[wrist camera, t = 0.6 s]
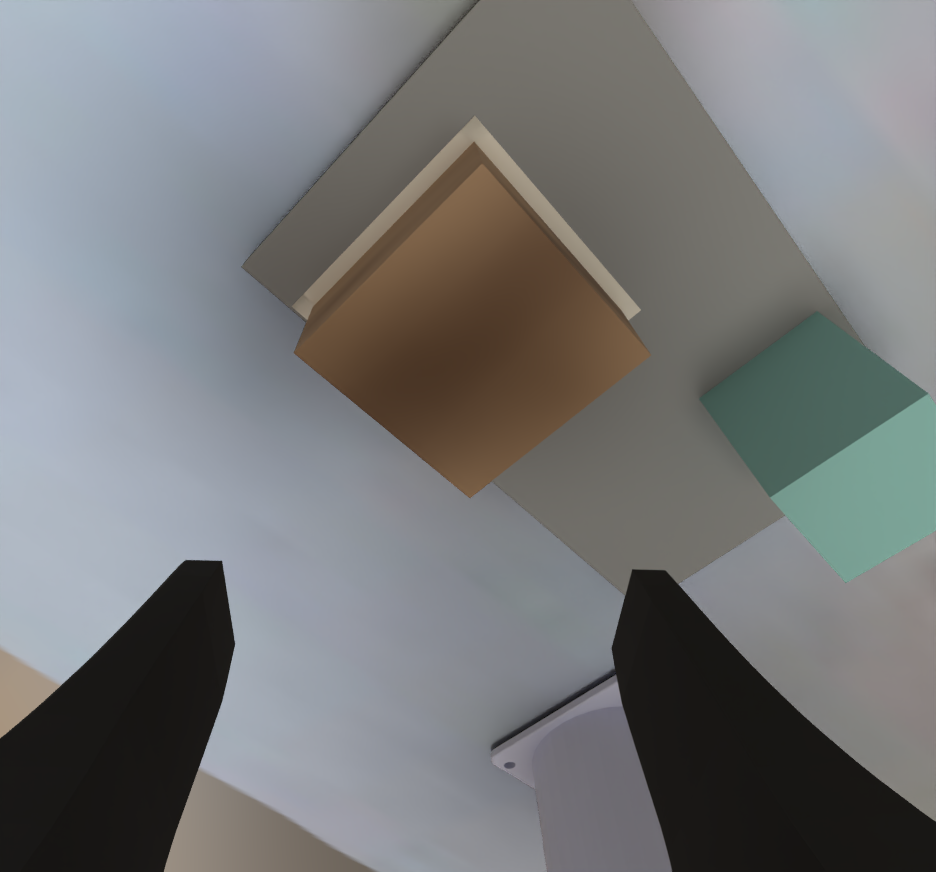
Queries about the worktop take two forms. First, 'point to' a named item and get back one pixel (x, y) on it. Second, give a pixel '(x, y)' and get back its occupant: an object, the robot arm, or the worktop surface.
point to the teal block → (835, 443)
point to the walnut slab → (470, 328)
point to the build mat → (591, 260)
